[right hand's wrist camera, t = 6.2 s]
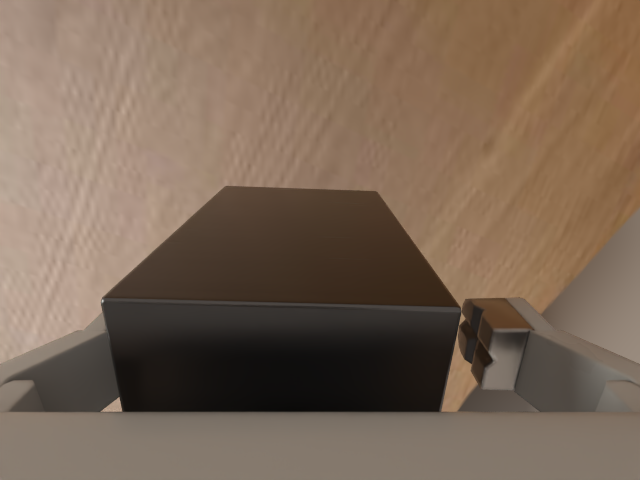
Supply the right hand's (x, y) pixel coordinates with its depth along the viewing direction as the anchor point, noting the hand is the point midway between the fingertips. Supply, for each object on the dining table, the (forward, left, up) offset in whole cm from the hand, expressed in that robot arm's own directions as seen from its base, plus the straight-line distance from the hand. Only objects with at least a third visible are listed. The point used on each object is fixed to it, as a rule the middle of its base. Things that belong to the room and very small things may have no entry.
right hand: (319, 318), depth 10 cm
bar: (+11, -1, -5) cm, 12 cm away
